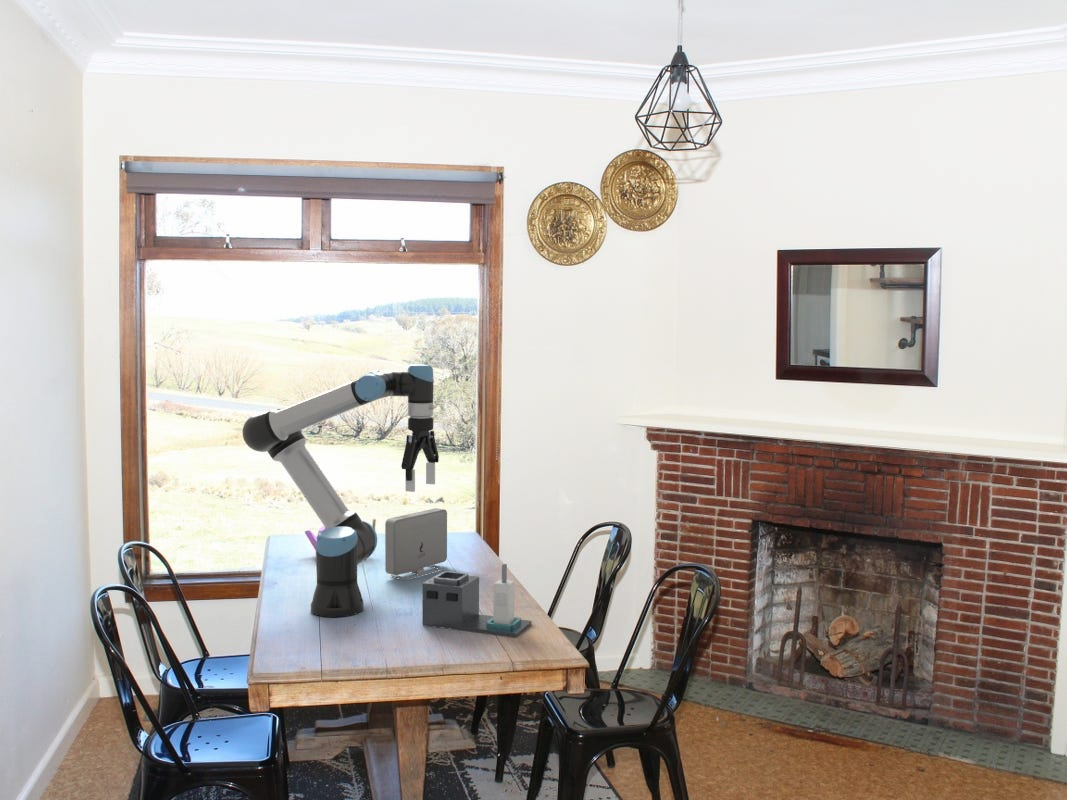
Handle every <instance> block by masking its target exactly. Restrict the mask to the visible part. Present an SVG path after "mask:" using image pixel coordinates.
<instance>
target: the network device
mask: <svg viewBox="0 0 1067 800" xmlns="http://www.w3.org/2000/svg"><path fill="white" fill-rule="evenodd" d="M384 528H385V529H384V531H385V533H384V534H385V535H384V536H385V537H384V539H385V541H384V542H385V543H384V544H385V549H384V550H385V553H384V554H385V556H384V558H385V559H384V560H385V561H384V563H385V564H384V566H385V568H384V569H385V572H386V574H387V575H388V574H389V575H390V577H391V576H392V577H395V578H394V579H396V578H399V579H398V580H400V579H410V580H412V579H411V578H414V579H416V578H415V577H417V578H419V577H418V576H421V577H423V576H422V575H424V576H426V575H425V574H428V575H430V574H429V573H431V574H433V573H432V572H434V573H436V572H435V571H438V570H441V569H442V566H440V565H437V564H441V563H444V562H446V561H447V558H448V511H447V510H446V509H445V508H438V507H434V508H431V509H425V510H422V511H418V512H417V511H416V512H413V513H412V512H411V513H408V514H404V515H399V516H394V517H390V518H387V519H386V520H385V523H384ZM428 566H431V567H430V568H432V567H435V568H434V569H432V570H424V569H425V568H427V567H428ZM428 568H429V567H428ZM436 568H438V569H436ZM441 571H442V570H441ZM409 572H412V573H411V574H413V573H416V574H414V575H412V576H407V577H406V576H402V575H403V574H407V573H409ZM438 572H439V571H438ZM417 574H418V575H417ZM392 577H391V578H392Z"/></svg>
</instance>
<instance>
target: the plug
mask: <svg viewBox="0 0 1067 800" xmlns="http://www.w3.org/2000/svg"><path fill="white" fill-rule="evenodd" d="M507 566H508V563H501V579H498V580H497V581H494V583H493V616H494V623H499V624H507V625H511V624H512V623H513V622H514V617H515V580H509V579H508V573H507V572H508V567H507Z"/></svg>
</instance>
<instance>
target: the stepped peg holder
mask: <svg viewBox="0 0 1067 800" xmlns="http://www.w3.org/2000/svg"><path fill="white" fill-rule="evenodd" d="M421 600H422V601H421V602H422V603H421V604H422V612H421V613H422V614H421V615H422V621H421V622H422V623H421V624H423V625H422V626H424V625H428V626H427V627H432V626H436V627H435V628H440V627H444V628H443V629H448V628H451V629H450V630H455V629H457V631H463V630H465V631H464V632H472V633H480V634H485V635H487V634H488V635H496V636H503V637H511V638H518V637H519V636H520V635H521V634H522V633H523V632H525V630H527V629H528V628H529V627H530V626H532V620H527V619H522V618H521V617H517V616H514V622H513V623H512V624H511V625H507V624H499V623H494V615H486V614H480V576H476V575H475V576H474V575H469V572H468V573H467V572H459V571H449V570H445V571H440V573H437V574H436V575H434V576H433V577H431V578H429V579H426V581H424V582H422V599H421Z"/></svg>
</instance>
